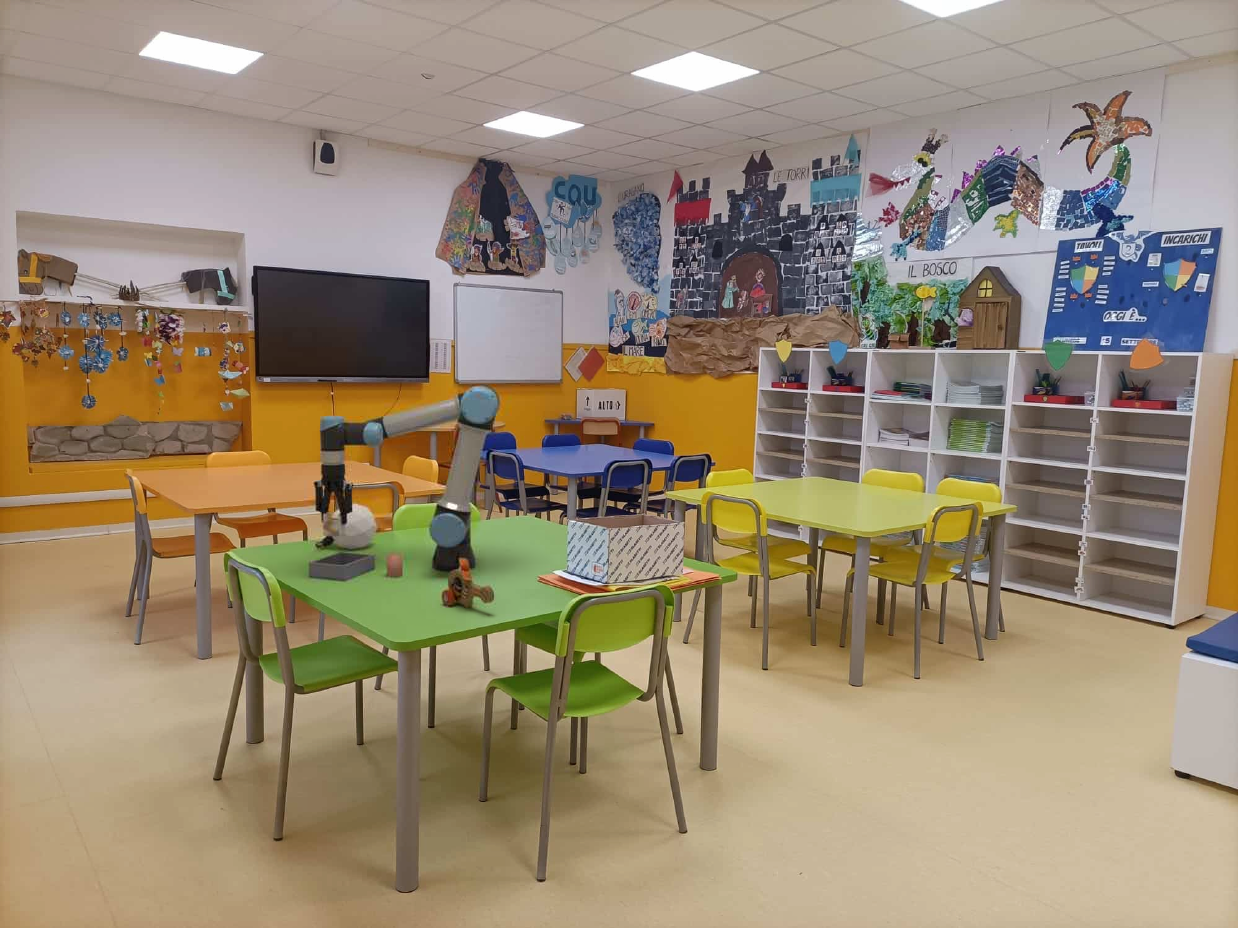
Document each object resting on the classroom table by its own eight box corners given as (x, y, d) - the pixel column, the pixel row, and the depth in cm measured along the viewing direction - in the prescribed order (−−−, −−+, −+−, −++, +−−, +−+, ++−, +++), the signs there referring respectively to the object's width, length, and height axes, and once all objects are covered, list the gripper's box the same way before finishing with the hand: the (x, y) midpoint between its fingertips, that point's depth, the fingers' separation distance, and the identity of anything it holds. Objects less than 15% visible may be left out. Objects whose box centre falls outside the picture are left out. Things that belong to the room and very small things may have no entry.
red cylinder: (405, 574, 292) (405, 554, 291) (397, 578, 287) (397, 557, 286) (392, 573, 293) (391, 553, 292) (384, 577, 288) (383, 556, 288)
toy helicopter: (461, 598, 264) (461, 554, 262) (503, 613, 250) (503, 566, 248) (438, 603, 258) (438, 558, 257) (480, 618, 244) (480, 571, 242)
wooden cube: (345, 533, 288) (345, 519, 288) (336, 536, 284) (335, 521, 283) (332, 532, 290) (332, 518, 289) (323, 535, 285) (322, 520, 285)
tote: (340, 565, 303) (340, 551, 302) (375, 569, 299) (374, 554, 298) (309, 577, 286) (308, 562, 285) (344, 581, 282) (344, 566, 281)
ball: (377, 536, 321) (347, 480, 322) (318, 569, 321) (288, 513, 323) (391, 534, 338) (362, 481, 340) (335, 565, 339) (307, 512, 340)
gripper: (363, 463, 285) (364, 533, 288) (316, 460, 290) (318, 529, 293) (350, 466, 278) (351, 537, 281) (302, 463, 283) (304, 533, 286)
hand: (334, 533), depth 287 cm, fingers closed on wooden cube, 5 cm apart
